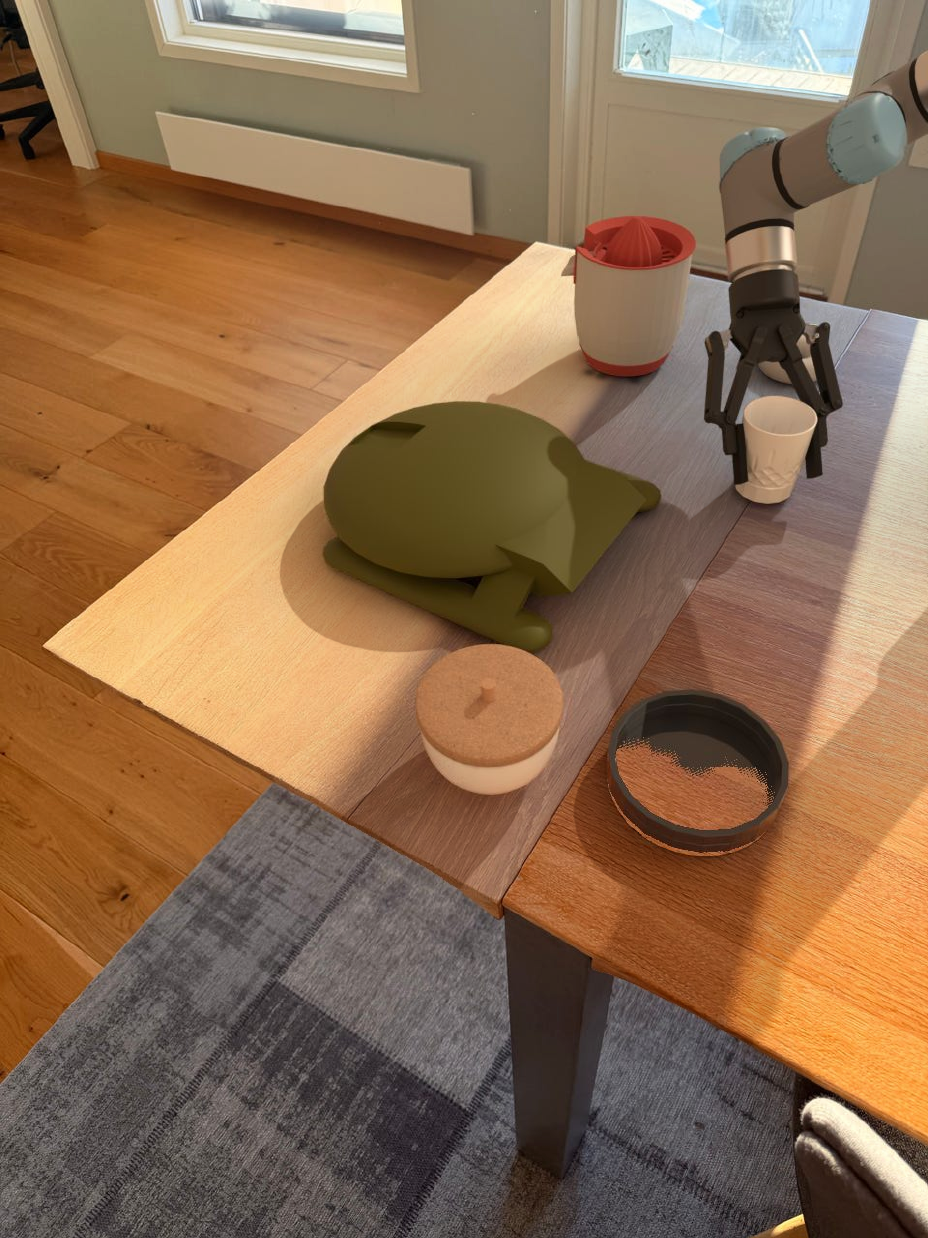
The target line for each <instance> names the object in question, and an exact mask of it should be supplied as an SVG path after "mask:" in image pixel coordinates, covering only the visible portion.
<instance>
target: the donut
mask: <svg viewBox="0 0 928 1238" xmlns="http://www.w3.org/2000/svg"><path fill="white" fill-rule="evenodd" d="M797 346H798V348H799V350H800V352H801V354H802V360H803V362H804V364H805V366H806V368H807V370H808V372H809V374H810V376H811V378H812V380H813V382H814V383H815V382H817V379H816V375H815V371H814V367H813V362H812V358H811V353H810V345H809V344H807V343H806V338H805V336H804V335H802V336H801V337H800V339H799V340H798V342H797ZM831 355H832V359H833V360H834V356H833V354H832V353H831ZM757 365H758V368H759V369H760V370H761V371H762V372H763V374H764V375H766V376H767V377H769V378H770V379H772V380H773V381H776V382H779V383H782V384H787V385H788V384H789V385H792V383H791V381H790V379H789V377H788V375H787V373H786V371H785V370H784V369H782V368H781V366H780V364H779V362H768V361H764V362H762V363H759V364H757Z"/></svg>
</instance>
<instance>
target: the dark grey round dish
mask: <svg viewBox="0 0 928 1238" xmlns="http://www.w3.org/2000/svg"><path fill="white" fill-rule="evenodd" d="M610 734H611V735H610V739H609V744H608V750H607V757H606V765H605V774H606V773H607V776H606V780H607V779H608V784H609V789H610V792H611V794H612V796H613V797H614V799H615V801H616V803H617V805H618V806H619V808H620V809H621V811H622V812H623V814H624V815H625V816H626V817H627V818H628V819H629V820H630V821H631V822H632V823H633V824H635V826H637V827H638V828H639V829H640V830H641V831H642V832H643V833H644V834H646V835H648V836H651V837H652V838H654V839H656V840H659V841H660V842H662V843H665V844H667V845H668V846H671V847H674V848H678V849H682V850H688V851H694V852H699V853H703V852H706V853H707V852H718V851H720V852H721V851H723V852H725V851H730V850H732V849H735V848H739V847H741V846H744V845H746V844H749V843H750V842H753V841H755V840H756V839H757V838H758V837H759V836H761V835H762V834H763V833H764V832H765V831H767V830H768V829H769V830H770V828H772V826H773V825H774V822H775V820H776V818H777V816H778V814H779V812H780V810H781V807H782V805H783V802H784V800H785V798H786V795H787V792H788V790H789V785H790V784H789V783H790V763H789V759H788V757H787V753H786V751H785V748H784V745H783V743H782V740H781V738H780V737H779V736H778V735H777V734H776V732H775V731H774V730H773V729H772V727H771V726H770V725H769V723H768V722H767V721H766V720H765V718H763V717H761V716H760V715H759V714H757V713H756V712H755V711H753V710H752V709H751V708H749V707H748V706H747V705H745V704H744V703H742V702H739V701H737V700H735V699H732V698H729V697H728V696H726V695H723V694H721V693H717V692H712V691H705V690H700V689H694V688H688V689H672V690H664V691H661V692H658V693H656V694H653V695H649V696H647V697H644V698H642V699H640V700H639V701H638V702H637V703H634V705H632V706H631V707H630V708H628V709H627V710H625V711H624V712H623V714H622V715H621V717H620V718H619V720H618V721H617V722H616V724H615V726H614V727H613V729H612V730H611V733H610ZM643 737H644V738H643ZM633 738H634V739H633ZM648 738H649V739H648ZM629 739H630V740H629ZM637 739H639V741H637ZM628 740H629V741H628ZM643 740H644V742H640V741H643ZM623 741H625V743H624V742H623ZM632 741H635V742H632ZM648 741H649V742H648ZM629 742H631V743H630V744H628V743H629ZM637 742H640V743H639V744H638V743H637ZM646 742H648V743H646ZM626 743H627V744H626ZM635 743H636V745H635V746H637V745H640V744H643V743H645V745H648V744H650V745H649V747H650V746H651V747H650V749H652V750H651V752H652V751H655V750H657V751H656V753H657V752H660V751H662V752H661V754H662V753H664V752H667V753H666V754H669V753H671V752H672V753H671V755H673V754H675V753H676V755H673V756H672V757H671V758H673V757H675V756H677V755H678V756H677V758H678V760H679V761H678V760H675V761H674V762H676V761H678V762H676V763H675V764H678V763H680V764H678V765H677V766H679V765H681V766H680V767H684V768H683V769H685V768H687V767H689V768H688V769H685V771H686V770H689V769H690V771H691V773H694V772H696V771H698V770H699V772H696V773H695V774H697V773H700V772H702V771H703V773H705V772H704V770H706V769H708V768H710V767H714V768H715V767H723V766H725V765H726V767H728V766H730V767H733V766H734V767H738V769H739V768H741V767H742V769H744V768H746V767H748V768H746V770H747V769H749V768H750V769H749V771H750V770H752V769H753V768H755V767H756V769H757V771H758V773H756V772H757V771H755V770H756V769H753V771H755V772H754V773H756V774H755V775H757V774H759V775H757V776H756V777H758V776H760V775H761V774H763V775H761V776H760V777H758V778H757V779H759V778H761V777H762V776H764V777H762V778H761V779H759V781H760V780H762V779H763V778H765V779H763V780H762V781H760V783H761V782H763V781H764V780H766V779H767V780H766V781H764V782H763V783H765V782H767V783H765V785H766V784H767V786H768V788H769V789H768V788H767V791H768V793H769V792H770V793H769V794H767V793H766V794H767V796H769V797H771V796H773V797H774V799H773V797H771V798H772V800H773V802H770V801H772V800H770V799H771V798H769V797H767V798H769V799H768V800H769V802H770V803H768V802H767V803H768V804H767V805H769V804H771V803H772V804H771V805H769V806H768V808H767V809H766V810H765V811H764V812H762V813H761V814H760V815H759V816H758V817H757V818H756V819H754V820H752V821H749V822H747V823H744V824H742V825H739V826H737V827H734V828H731V829H718V830H699V829H694V828H689V827H684V826H680V825H675V824H673V823H671V822H669V821H667V820H665V819H663V818H661V817H659V816H657V815H655V814H653V813H651V812H650V811H649V810H648V809H647V808H646V807H644V806H643V805H642V804H641V803H640V802H639V801H638V800H637V799H635V798H634V797H633V796H632V795H631V793H630V792H629V790H628V788H627V787H626V785H625V783H624V782H623V780H622V778H621V777H620V775H619V771H618V766H617V761H616V756H615V755H616V751H617V749H619V748H622V747H625V746H629V745H632V744H635ZM623 744H626V745H625V746H623ZM620 745H622V746H621V747H619V746H620ZM645 745H644V746H645ZM631 747H634V746H633V745H632V746H631ZM631 747H630V748H631ZM640 747H643V746H640ZM655 747H656V748H655ZM628 748H629V747H627V748H626V749H628ZM637 748H638V747H637ZM637 748H636V749H637ZM646 748H648V747H646ZM660 748H661V749H660ZM650 749H649V750H650ZM658 749H660V750H658ZM665 749H666V750H665ZM632 750H634V749H632ZM664 750H665V751H664ZM669 750H670V751H669ZM621 751H622V750H621ZM674 751H675V752H674ZM652 754H655V753H652ZM652 754H651V755H652ZM666 754H663V755H662V756H664V755H666ZM657 755H659V754H657ZM657 755H656V756H657ZM671 755H667V757H668V756H671ZM679 757H681V758H679ZM725 757H726V758H725ZM677 758H673V760H674V759H677ZM726 759H727V760H726ZM736 759H737V760H736ZM734 760H735V761H734ZM671 761H672V760H671ZM727 761H728V762H727ZM674 762H671V763H674ZM731 762H732V763H731ZM671 763H670V764H671ZM724 763H725V764H724ZM727 764H729V765H727ZM732 764H733V765H732ZM721 765H722V766H721ZM735 765H737V766H735ZM672 766H673V765H672ZM677 766H676V767H677ZM693 767H694V768H693ZM700 767H701V768H700ZM705 767H706V768H705ZM751 767H752V768H751ZM691 768H692V769H691ZM697 768H698V769H697ZM704 768H705V769H704ZM714 768H713V769H714ZM700 769H702V771H701V770H700ZM742 769H740V770H739V771H741V770H742ZM692 770H694V771H692ZM710 770H712V768H711V769H708V770H706V772H707V771H710ZM759 770H760V771H759ZM690 771H689V772H690ZM714 771H715V770H714ZM743 771H745V770H743ZM753 771H751V772H753ZM712 772H713V771H712ZM747 772H748V771H747ZM751 772H750V773H751ZM760 772H761V773H760ZM765 772H766V773H765ZM686 773H688V772H686ZM691 773H690V774H691ZM703 773H700V774H699V775H701V774H703ZM709 773H710V772H709ZM709 773H707V774H709ZM740 773H742V772H740ZM744 774H745V773H744ZM752 774H753V773H752ZM752 774H751V775H752ZM766 774H767V775H766ZM693 775H694V774H692V776H693ZM747 775H748V774H747ZM696 776H698V775H696ZM703 776H704V775H703ZM709 776H710V775H709ZM701 777H702V776H701ZM748 777H749V776H748ZM752 777H753V776H752ZM693 778H694V777H693ZM757 782H758V781H757ZM761 785H762V784H761ZM767 786H766V787H767ZM771 786H772V787H771ZM770 789H771V790H770ZM765 790H766V789H765ZM767 791H765V792H767ZM771 791H772V792H771ZM774 792H775V793H774ZM772 793H773V794H772ZM770 794H771V795H770ZM763 796H764V795H763ZM768 800H767V801H768ZM763 803H764V802H763ZM765 804H766V803H765ZM767 805H766V806H767ZM769 830H768V831H769ZM768 831H767V832H768Z"/></svg>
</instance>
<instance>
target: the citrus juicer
mask: <svg viewBox="0 0 928 1238" xmlns="http://www.w3.org/2000/svg"><path fill="white" fill-rule="evenodd" d="M583 239H584V240H583V247H581V246H578V245H575V246H574V247H575V249H574V254H573V255H571V256H570V258H569V259H568V262H567V263H566V265H565V267H564V268H563V269H562V271H561V273H560V277H573V278H572V279H573V285H574V299H573V307H574V309H573V311H574V314H573V315H574V323H575V328H576V335H577V338H578V345H579V347H580V351H581V353H582V355H583V357H584V360H585V361H586V363H587V364H588V365H589V366H590V367H591V368H593V369H594V370H596V371H598V372H601V373H603V374H607V375H611V376H615V377H637V376H644V375H648V374H650V373H653V372H655V371H656V370H658V369H659V368H661V367H662V365H663V364H664V363H665V362H666V360H667V359H668V357H669V355H670V354H671V352H672V350H673V348H674V344H675V341H676V339H677V337H678V335H679V332H680V330H681V326H682V323H683V320H684V319H683V318H684V314H685V310H686V304H687V303H686V302H687V296H688V288H689V280H690V273H691V267H692V260H693V253H694V252H695V250H696V246H697V241H696V238H695V235H693V233H692V232H691V231H690V230H688V229H687V228H686V227H685V226H683V225H680V224H679V223H677V222H674V221H670V220H668V219H663V218H659V217H653V216H645V215H644V216H643V215H642V216H641V215H627V216H626V215H624V216H616V217H610V218H606V219H605V218H604V219H601V220H598V221H596V222H592V223H590V224H589V225H587V226H585V227H584V238H583Z"/></svg>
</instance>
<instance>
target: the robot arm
mask: <svg viewBox="0 0 928 1238" xmlns="http://www.w3.org/2000/svg"><path fill="white" fill-rule="evenodd" d="M927 135H928V50H926V51H925V52H922V53H921V54H920V55H918V56H917V57H915V58H914V59H912V60H910V61H908V62H907V63H905V64H903V65H902V66H900V67H899V68H896V70H892V71H889V72H888V73H886V74H884V75H883V76H881V77H880V78H879V79H877V80H876V81H874V82H873V83H871V85H869V87H867V88H866V89H865V90H863V91H862V92H860V93H859V94H858V95H855V96H854V97H852V98H851V99H850V100H848V101H847V102H845V103H844V104H842V105H841V106H839V107H838V108H836V109H835V110H833V111H832V112H831V113H828V114H827V115H826V116H824V117H823V118H820V119H819V120H817V121H815V122H813V123H811V124H809V125H807V126H806V127H804V128H802V129H800V130H798V131H797V132H795V133H793V134H791V135H790V136H787V134H786V133H785V131H783V130H782V129H780V128H777V127H771V126H761V127H755V128H753V129H752V130H749V131H742V132H740V133H738V134H736V135H734V136H733V137H731V138H730V139H729V140H727V142H726V143H725V144H724V146H723V147H722V149H721V151H720V154H719V182H718V190H719V194H720V200H721V209H722V210H721V211H722V217H723V228H724V229H723V230H724V245H725V246H724V247H725V250H724V251H725V260H726V261H725V262H726V272H727V274H726V275H727V281H728V282H729V283H730V286H729V287H728V290H727V291H728V302H729V316H730V325H729V327H728V329H725V330H723V331H718V330H713V331H711V332H710V334H709V335H707V337H705V339H704V348H705V351H706V354H707V372H706V385H705V399H704V410H703V421H704V423H706V424H713V425H717V426H718V428H719V429H721V438H722V439H721V440H722V451H723V454H724V455H725V456H731V459H732V460H731V461H732V473H733V474H732V475H733V485H734V486H735V485H740V484H743V483H745V482H748V470H747V457H746V444H745V432H744V424H743V423H742V422H741V423H736V422H737V420H738V418H739V414H740V410H741V408H742V405H743V401H744V398H745V395H746V393H747V389H748V386H749V383H750V380H751V378H752V374H753V371H754V368H755V366H756V365H758V364H759V363H762V362H764V361H768V362H779V364H780V366H781V368H782V369H784V370H785V371H786V373H787V375H788V377H789V379H790V381H791V383H792V384H791V386H792V387H793V389H794V391H795V393H796V395H797V397H798V400H799V401H802V402H804V403H805V404H807V405H809V406H810V407H811V408H812V409H813V410H814V411H815V413H816V415H817V423H816V426H815V429H814V432H813V435H812V438H811V441H810V444H809V447H808V451H807V454H806V457H805V460H804V462H805V463H804V464H805V476H806V480H811V479H815V478H819V477H822V476H823V475H824V473H823V460H822V448H824V447H827V445H828V443H829V437H828V436H829V435H828V425H827V418H828V416H829V415H830V414H832V413H834V412H836V411H838V410H840V409H842V407H843V406H844V402H843V397H842V394H841V388H840V385H839V381H838V376H837V373H836V372H837V371H836V368H835V364H834V358H833V359H832V357H833V354H832V351H831V350H832V349H831V346H830V335H831V325H830V323H829V322H827V321H823V322H821V323H820V324H815V323H814V324H813V323H806V321H805V319H804V318H803V316H802V314H801V298H800V297H801V295H800V288H799V287H800V285H799V284H800V283H799V275H798V274H797V273H796V272H795V271H796V270H797V268H798V257H797V246H796V234H795V213H796V212H798V211H801V210H803V209H806V208H808V207H810V206H811V205H814V204H816V203H818V202H821V201H824V200H825V199H828V198H831V197H833V196H835V195H838V194H840V193H842V192H845V191H847V190H850V189H853V188H854V187H856V186H860V185H861V184H863V185H864V184H865V185H866V184H867V183H871V182H872V181H873V180H875V178H877V177H879V176H880V175H883V174H885V173H887V172H889V171H892V170H893V169H894V168H896V167H897V166H898V165H899V164H900V163H901V161H902V160H903V158H904V156H905V150H906V148H907V146H909V145H910V144H912V143H914V142H916V141H918V140H919V139H921V138H923V137H925V136H927ZM802 335H804V336H805V338H806V343H807V344H809V345H810V353H811V358H812V362H813V367H814V371H815V375H816V379H817V381H816V383H817V386H816V384H815V382H813V380H812V378H811V376H810V374H809V372H808V370H807V368H806V366H805V364H804V362H803V360H802V354H801V352H800V350H799V348H798V346H797V342H798V340H799V339H800V337H801V336H802ZM729 341H730V342H731V343H732V345H733V346H734V347H735V348H736V349H737V350H738V352H739V354H740V355H739V358H738V361H737V365H736V368H735V369H736V370H735V373H734V377H733V380H732V383H731V386H730V389H729V392H728V394H727V395H728V396H727V398H726V401H725V405H724V408H723V411H722V400H723V399H722V397H723V386H724V373H725V372H724V371H725V360H726V350H727V349H728V348H729ZM831 354H832V355H831Z"/></svg>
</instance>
